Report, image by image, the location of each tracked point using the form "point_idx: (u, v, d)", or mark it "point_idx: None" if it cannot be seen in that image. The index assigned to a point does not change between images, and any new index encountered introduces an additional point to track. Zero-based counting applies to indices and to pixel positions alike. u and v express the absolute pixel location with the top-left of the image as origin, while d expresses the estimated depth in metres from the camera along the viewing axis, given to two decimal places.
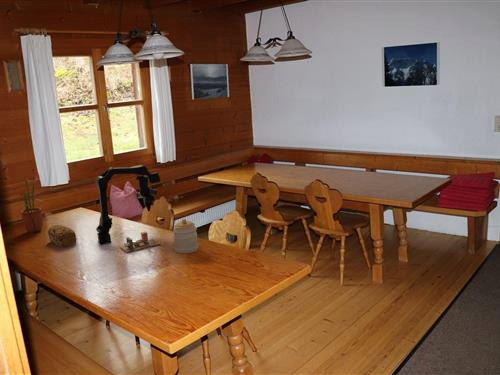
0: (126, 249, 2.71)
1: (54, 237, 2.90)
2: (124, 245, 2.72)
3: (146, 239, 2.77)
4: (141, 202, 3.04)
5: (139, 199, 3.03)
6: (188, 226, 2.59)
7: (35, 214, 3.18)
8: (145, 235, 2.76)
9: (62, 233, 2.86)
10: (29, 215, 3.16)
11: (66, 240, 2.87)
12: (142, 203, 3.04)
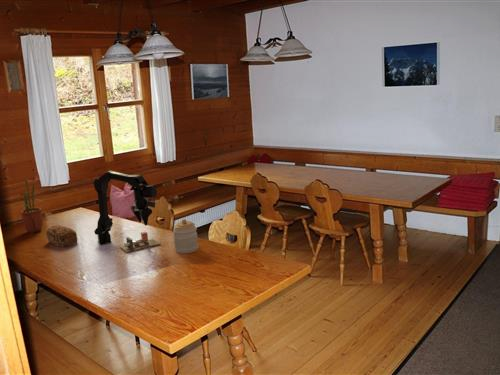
0: (126, 249, 2.71)
1: (54, 237, 2.90)
2: (124, 245, 2.72)
3: (146, 239, 2.77)
4: (137, 215, 2.79)
5: (135, 212, 2.78)
6: (188, 226, 2.59)
7: (35, 214, 3.18)
8: (145, 235, 2.76)
9: (64, 233, 2.86)
10: (29, 215, 3.16)
11: (68, 239, 2.88)
12: (138, 216, 2.79)
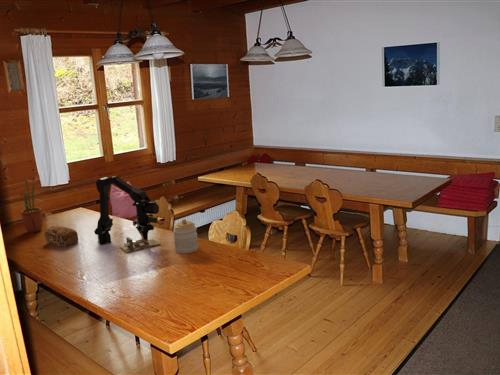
0: (126, 249, 2.71)
1: (55, 238, 2.89)
2: (124, 245, 2.72)
3: None
4: (141, 232, 2.78)
5: (139, 228, 2.77)
6: (188, 226, 2.59)
7: (35, 214, 3.18)
8: None
9: (66, 232, 2.87)
10: (29, 215, 3.16)
11: (70, 239, 2.88)
12: None
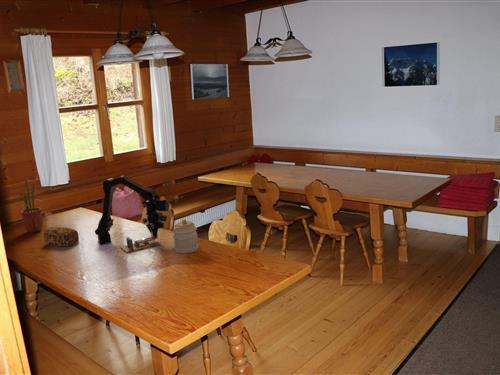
0: (126, 249, 2.71)
1: (56, 238, 2.89)
2: None
3: (156, 237, 2.80)
4: (151, 229, 2.81)
5: (149, 226, 2.80)
6: (188, 226, 2.59)
7: (35, 214, 3.18)
8: None
9: (67, 232, 2.87)
10: (29, 215, 3.16)
11: (71, 238, 2.89)
12: None
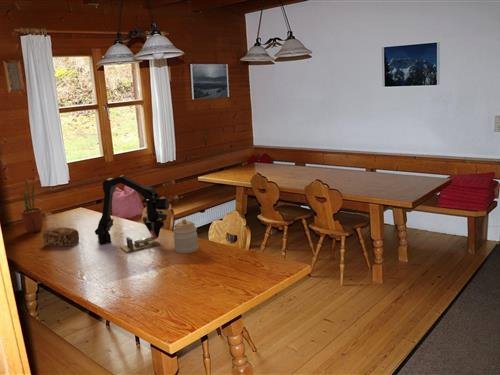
0: (126, 249, 2.71)
1: (57, 238, 2.88)
2: None
3: (156, 237, 2.80)
4: (149, 227, 2.83)
5: (147, 224, 2.83)
6: (188, 226, 2.59)
7: (35, 214, 3.18)
8: None
9: (69, 231, 2.88)
10: (29, 215, 3.16)
11: (73, 238, 2.90)
12: (150, 228, 2.84)
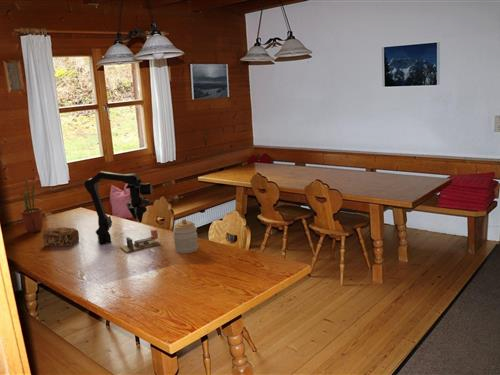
0: (126, 249, 2.71)
1: (58, 238, 2.88)
2: None
3: (156, 237, 2.80)
4: (132, 212, 2.89)
5: (130, 209, 2.88)
6: (188, 226, 2.59)
7: (35, 214, 3.18)
8: (155, 233, 2.79)
9: (70, 231, 2.89)
10: (29, 215, 3.16)
11: (74, 237, 2.91)
12: (133, 213, 2.89)
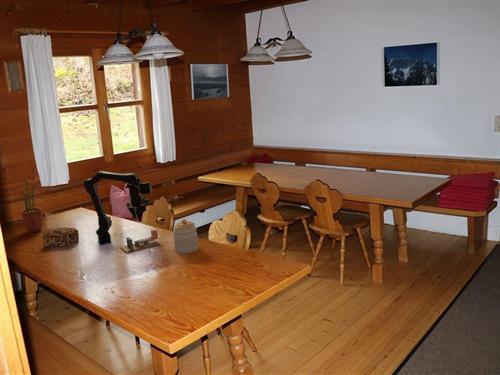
0: (126, 249, 2.71)
1: (59, 238, 2.88)
2: None
3: (156, 237, 2.80)
4: (132, 212, 2.89)
5: (130, 209, 2.88)
6: (188, 226, 2.59)
7: (35, 214, 3.18)
8: (155, 233, 2.79)
9: (72, 231, 2.89)
10: (29, 215, 3.16)
11: (75, 237, 2.92)
12: (133, 213, 2.89)
